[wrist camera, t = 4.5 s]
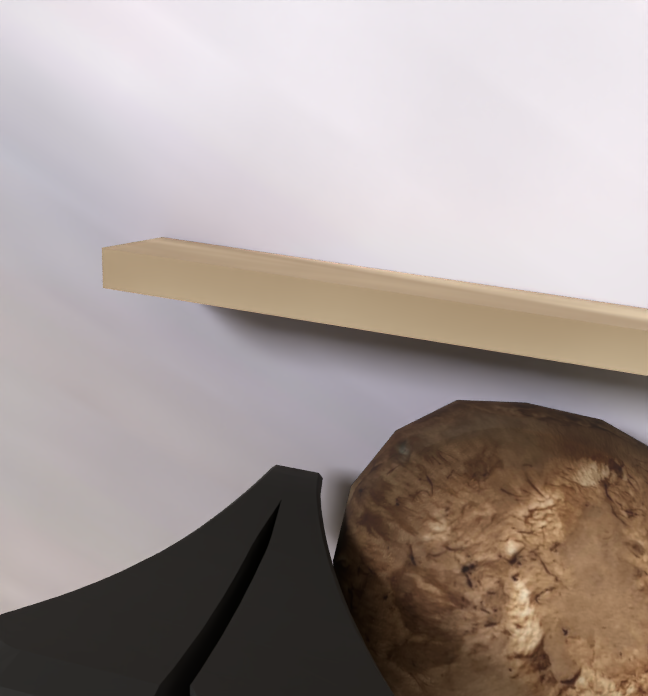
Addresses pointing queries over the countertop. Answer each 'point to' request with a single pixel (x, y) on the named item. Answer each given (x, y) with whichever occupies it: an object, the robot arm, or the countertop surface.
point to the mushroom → (501, 555)
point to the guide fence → (385, 302)
